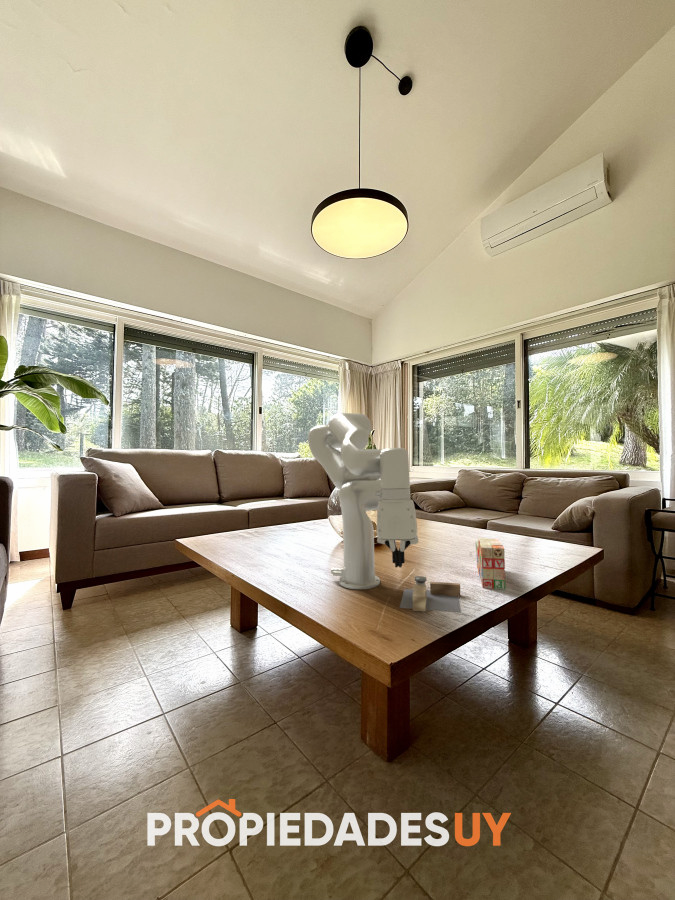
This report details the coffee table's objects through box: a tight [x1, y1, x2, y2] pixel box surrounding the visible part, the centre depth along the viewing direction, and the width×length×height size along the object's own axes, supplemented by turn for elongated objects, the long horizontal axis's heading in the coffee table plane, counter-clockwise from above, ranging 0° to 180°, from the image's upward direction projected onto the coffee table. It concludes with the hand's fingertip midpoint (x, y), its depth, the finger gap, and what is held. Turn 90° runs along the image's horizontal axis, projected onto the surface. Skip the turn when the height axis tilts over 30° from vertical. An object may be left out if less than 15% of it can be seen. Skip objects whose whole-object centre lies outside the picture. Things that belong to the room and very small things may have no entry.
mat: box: [399, 588, 462, 613], centre depth 101 cm, size 15×14×1 cm
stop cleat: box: [429, 581, 461, 597], centre depth 105 cm, size 8×2×3 cm, turn 75°
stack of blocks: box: [475, 537, 506, 590], centre depth 119 cm, size 21×6×12 cm, turn 164°
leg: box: [412, 583, 427, 612], centre depth 98 cm, size 3×9×4 cm, turn 165°
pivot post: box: [414, 575, 427, 585], centre depth 104 cm, size 3×3×5 cm
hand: (398, 565), depth 98 cm, fingers closed
